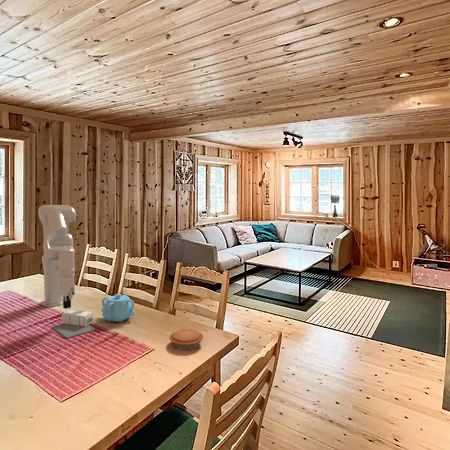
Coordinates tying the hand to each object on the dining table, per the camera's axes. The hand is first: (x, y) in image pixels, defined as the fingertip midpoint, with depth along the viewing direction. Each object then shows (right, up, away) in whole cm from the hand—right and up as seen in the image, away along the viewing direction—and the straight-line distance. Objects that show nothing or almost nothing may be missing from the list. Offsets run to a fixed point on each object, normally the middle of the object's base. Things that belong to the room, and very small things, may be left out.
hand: (67, 307), depth 171 cm
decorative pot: (+22, -9, +12) cm, 27 cm away
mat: (+5, -10, -4) cm, 11 cm away
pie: (+63, -13, -16) cm, 66 cm away
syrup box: (-3, -5, +4) cm, 7 cm away
